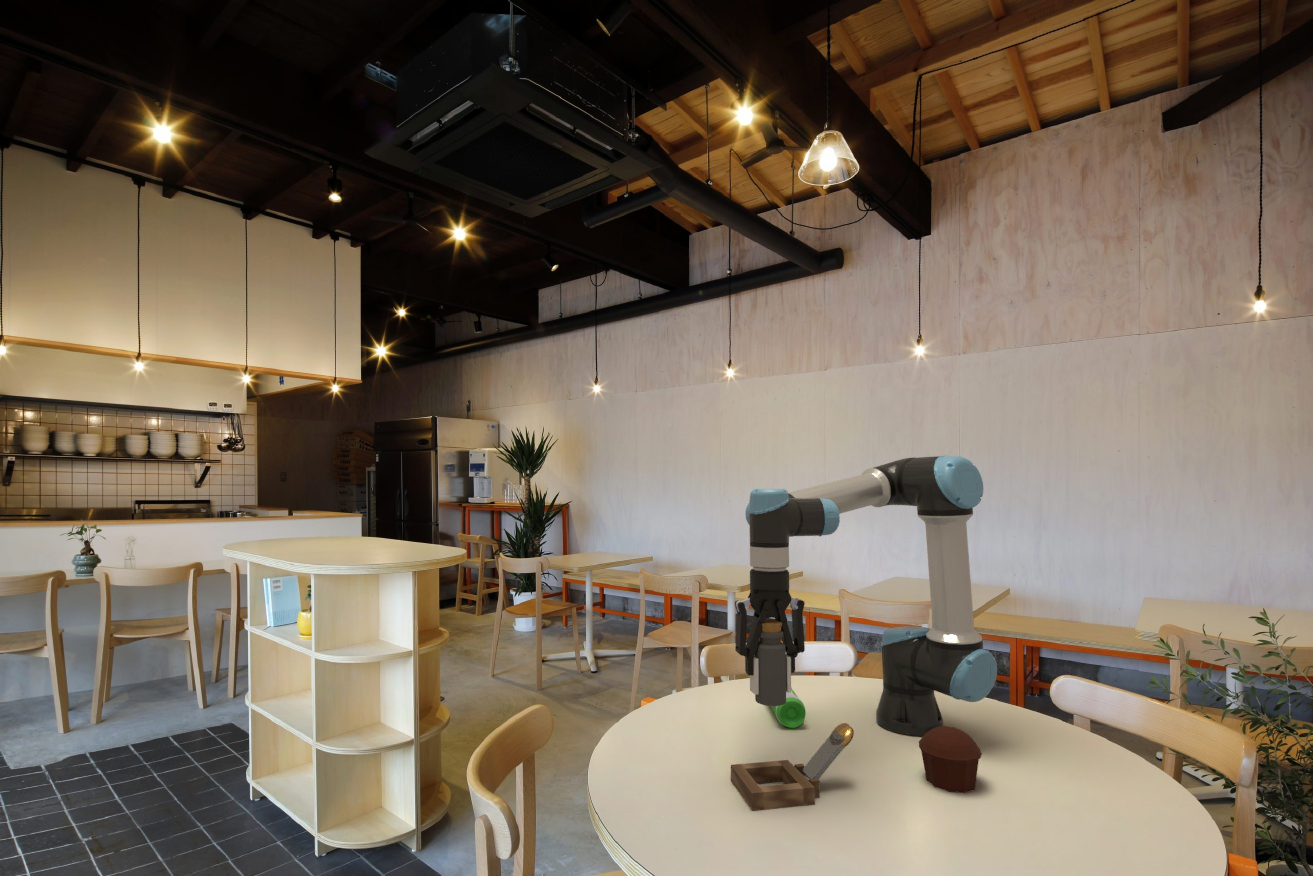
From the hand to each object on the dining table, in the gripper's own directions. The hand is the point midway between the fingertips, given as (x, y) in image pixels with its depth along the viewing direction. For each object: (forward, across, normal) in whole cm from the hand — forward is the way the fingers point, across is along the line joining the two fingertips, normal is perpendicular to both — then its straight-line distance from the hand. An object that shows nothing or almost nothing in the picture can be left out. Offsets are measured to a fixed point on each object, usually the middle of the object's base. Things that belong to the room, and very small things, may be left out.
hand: (770, 691), depth 123 cm
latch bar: (+13, -12, 0) cm, 17 cm away
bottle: (+2, 0, 0) cm, 2 cm away
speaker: (+19, -18, -37) cm, 45 cm away
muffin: (+19, -36, +3) cm, 41 cm away
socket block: (+19, 0, 0) cm, 19 cm away
